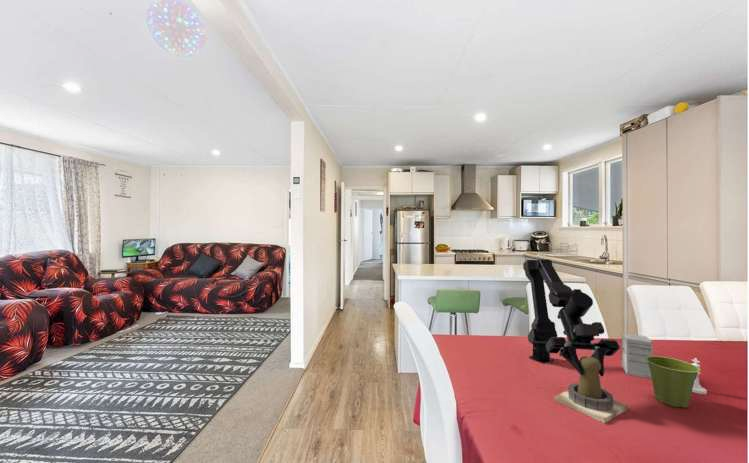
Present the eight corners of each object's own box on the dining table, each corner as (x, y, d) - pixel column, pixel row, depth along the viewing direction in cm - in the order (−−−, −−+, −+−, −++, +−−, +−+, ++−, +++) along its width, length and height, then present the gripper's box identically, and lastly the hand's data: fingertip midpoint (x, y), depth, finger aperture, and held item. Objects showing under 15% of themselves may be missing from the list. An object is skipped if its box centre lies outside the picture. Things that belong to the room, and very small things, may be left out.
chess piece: (703, 395, 98) (703, 362, 98) (682, 388, 102) (682, 357, 102) (709, 391, 100) (709, 359, 100) (688, 385, 104) (688, 354, 104)
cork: (607, 400, 90) (608, 360, 90) (591, 403, 88) (591, 363, 88) (587, 389, 95) (588, 352, 95) (572, 392, 94) (572, 355, 94)
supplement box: (621, 366, 118) (621, 332, 118) (647, 371, 115) (647, 335, 115) (625, 374, 112) (625, 338, 112) (653, 379, 108) (653, 341, 108)
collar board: (578, 389, 100) (578, 378, 100) (627, 409, 89) (627, 396, 89) (554, 400, 94) (554, 387, 94) (604, 423, 83) (604, 408, 83)
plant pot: (707, 417, 85) (707, 375, 86) (649, 405, 92) (649, 365, 92) (693, 398, 95) (693, 360, 96) (641, 388, 102) (641, 352, 102)
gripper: (549, 310, 97) (567, 361, 86) (616, 312, 95) (643, 365, 84) (539, 328, 104) (553, 377, 94) (600, 330, 102) (622, 381, 91)
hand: (592, 375), depth 90 cm, fingers closed on cork, 5 cm apart
